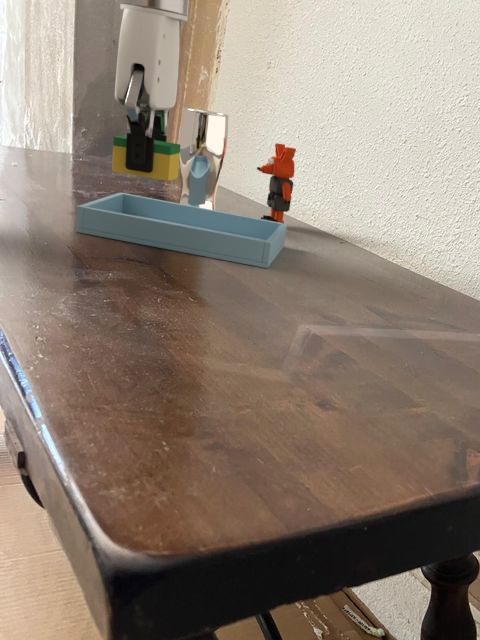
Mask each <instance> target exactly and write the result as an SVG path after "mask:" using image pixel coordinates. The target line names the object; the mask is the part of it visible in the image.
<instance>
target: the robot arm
mask: <svg viewBox="0 0 480 640" xmlns="http://www.w3.org/2000/svg"><path fill="white" fill-rule="evenodd" d="M189 3H190V0H120V5H119V7H120V8H119V9H120V11H123V12H122V18H121V22H120V23H121V24H120V30H119V39H118V47H117V60H116V70H115V84H114V99H115V100H116V102H117V104H119V105H121V106H124V109H125V112H126V128H125V129H126V130H125V131H126V135H127V141H126V163H125V166H126V168H127V169H129V170H135V171H141V172H146V173H150V172H152V171H153V157H154V140H157V141H163V142H168V140H167V139H168V136H167V134H168V119H169V118H168V117H169V111H170V110H171V109H172V108H173V107H175V105H176V101H177V96H178V95H177V94H178V83H179V67H180V66H179V65H180V42H181V38H180V22H181V23H188V19H189V17H188V15H189ZM141 105H142V106H141Z"/></svg>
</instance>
